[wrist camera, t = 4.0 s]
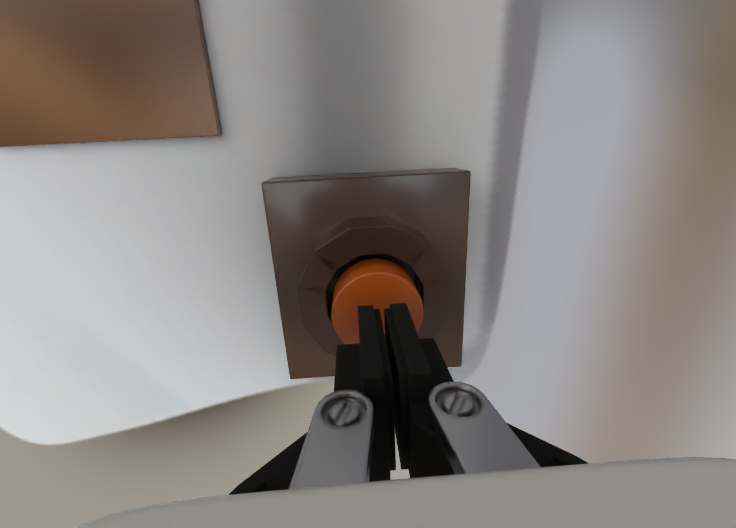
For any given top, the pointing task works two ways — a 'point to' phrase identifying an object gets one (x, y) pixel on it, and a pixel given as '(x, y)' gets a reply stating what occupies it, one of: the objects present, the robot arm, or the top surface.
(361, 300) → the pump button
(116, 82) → the coaster
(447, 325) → the button housing
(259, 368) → the top surface
